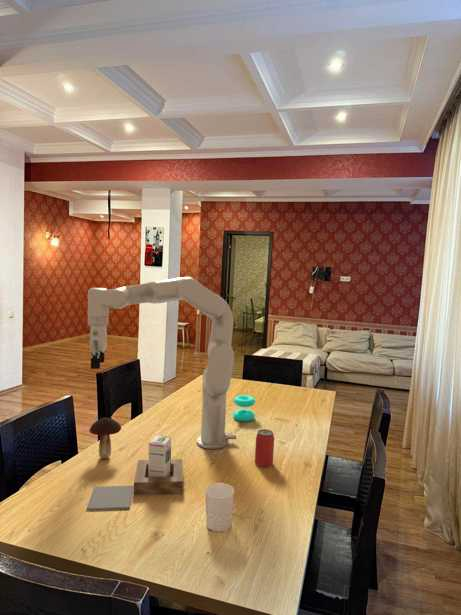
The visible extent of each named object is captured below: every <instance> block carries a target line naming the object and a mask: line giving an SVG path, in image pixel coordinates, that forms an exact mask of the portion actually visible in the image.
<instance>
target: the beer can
mask: <svg viewBox="0 0 461 615" xmlns="http://www.w3.org/2000/svg"><path fill="white" fill-rule="evenodd" d="M274 448H275V436H274V432H273V431H272V430H270V429H264V428H262V429H260V430H257V433H256V437H255V452H254V463H255V465H256V466H258V467H260V468H267V469H268V468H270V467H273V464H274V450H275V449H274Z"/></svg>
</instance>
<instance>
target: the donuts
mask: <svg viewBox="0 0 461 615" xmlns="http://www.w3.org/2000/svg"><path fill="white" fill-rule="evenodd" d="M233 403H234V404H235V405H236V406H237V407H240V408H239V409H236V410H235V411H234V412H232V413H233V414H232V415H233V419H235V420H236V421H238V422H251V421H253V420H254V418H255V413H254V412H253V411H252V410H250V409H248V408H250V407H252V406H254V405H255V403H256V399H255V397H253V396H251V395H246V394H244V395H243V394H241V395H237V396H235V397H234V398H233ZM246 408H247V409H246Z"/></svg>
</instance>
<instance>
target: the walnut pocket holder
mask: <svg viewBox="0 0 461 615" xmlns="http://www.w3.org/2000/svg"><path fill="white" fill-rule="evenodd" d="M183 465H184V464H183V459H182V458H181V459H179V458H178V459H176V458H175V459H171V477H148V459H138V460H137V463H136V469H135V475H134V481H133V496H145V495H146V496H147V495H176V494H177V495H179V494H181V495H182V494H183V493H184V466H183Z"/></svg>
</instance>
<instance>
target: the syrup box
mask: <svg viewBox="0 0 461 615" xmlns="http://www.w3.org/2000/svg"><path fill="white" fill-rule="evenodd" d="M147 460H148V475H147V477H172V475H171V460H172V437H171V436H166V435H154V437H153V438H151V440H150V441H149V442H148V459H147Z"/></svg>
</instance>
